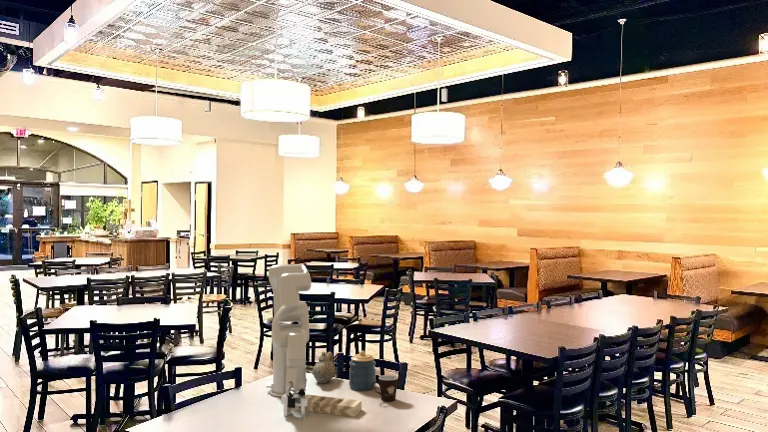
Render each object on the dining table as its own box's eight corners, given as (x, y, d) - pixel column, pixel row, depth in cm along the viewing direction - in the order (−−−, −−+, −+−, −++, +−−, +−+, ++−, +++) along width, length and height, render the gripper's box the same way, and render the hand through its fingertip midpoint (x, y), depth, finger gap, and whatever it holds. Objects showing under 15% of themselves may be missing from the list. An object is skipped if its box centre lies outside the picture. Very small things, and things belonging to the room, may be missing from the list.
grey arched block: (281, 415, 241) (281, 396, 241) (285, 412, 245) (285, 393, 245) (307, 418, 237) (307, 399, 237) (311, 415, 241) (311, 396, 241)
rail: (297, 409, 248) (297, 400, 248) (306, 403, 257) (306, 394, 257) (353, 416, 240) (353, 406, 240) (361, 409, 248) (361, 400, 248)
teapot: (329, 388, 280) (329, 356, 280) (306, 386, 282) (306, 355, 282) (341, 376, 301) (341, 347, 301) (319, 375, 303) (319, 346, 303)
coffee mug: (398, 397, 266) (398, 375, 266) (397, 403, 257) (397, 380, 258) (373, 396, 267) (373, 374, 267) (371, 402, 259) (371, 379, 259)
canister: (360, 392, 272) (360, 355, 273) (343, 387, 282) (343, 350, 282) (381, 387, 281) (381, 351, 281) (364, 381, 291) (364, 346, 291)
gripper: (298, 357, 250) (297, 397, 250) (278, 366, 234) (278, 409, 234) (313, 358, 248) (313, 399, 248) (295, 368, 232) (294, 411, 231)
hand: (296, 404), depth 241 cm, fingers open, 8 cm apart
